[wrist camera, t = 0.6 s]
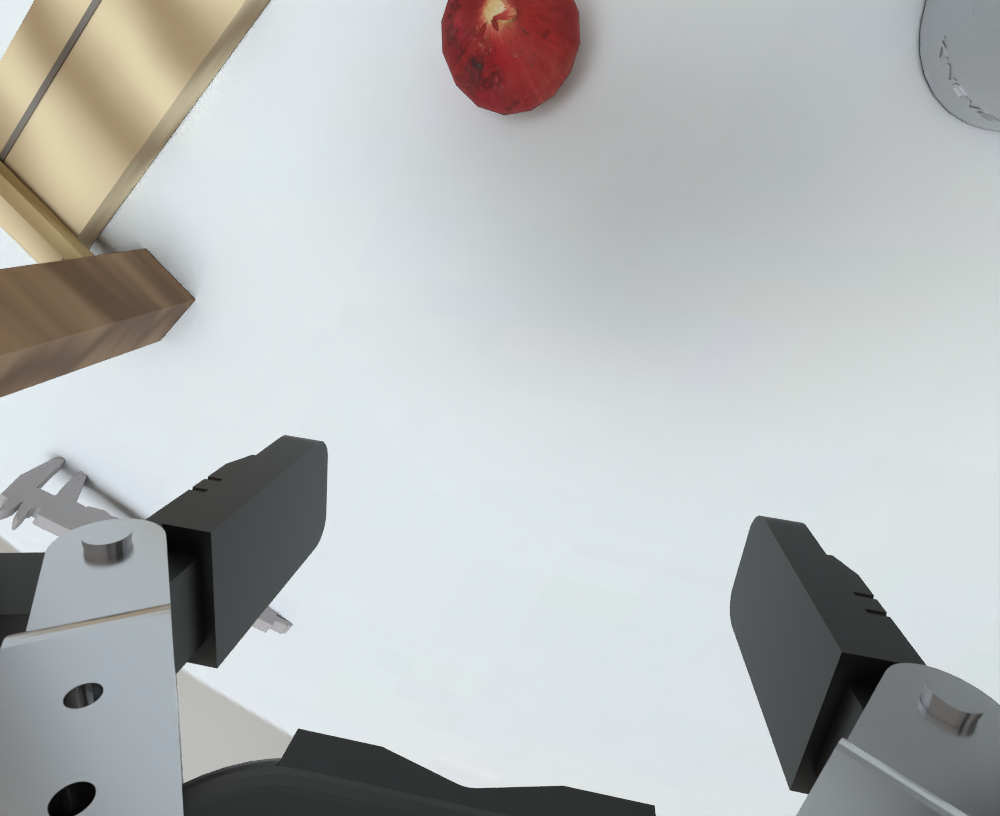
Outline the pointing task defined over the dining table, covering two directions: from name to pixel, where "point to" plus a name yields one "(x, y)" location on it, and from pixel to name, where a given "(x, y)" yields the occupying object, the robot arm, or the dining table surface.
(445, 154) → the dining table surface
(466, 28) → the onion
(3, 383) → the block
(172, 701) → the robot arm
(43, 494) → the caliper
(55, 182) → the board
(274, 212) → the dining table surface
